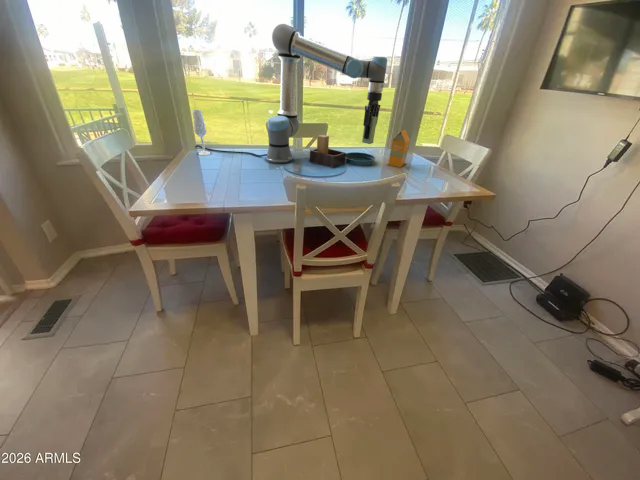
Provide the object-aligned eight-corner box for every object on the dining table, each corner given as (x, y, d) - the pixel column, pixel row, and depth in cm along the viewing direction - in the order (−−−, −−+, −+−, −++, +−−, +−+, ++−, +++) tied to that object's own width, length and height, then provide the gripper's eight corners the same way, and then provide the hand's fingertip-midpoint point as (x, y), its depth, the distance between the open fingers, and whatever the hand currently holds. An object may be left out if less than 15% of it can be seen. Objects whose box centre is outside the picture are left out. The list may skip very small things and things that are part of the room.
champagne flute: (208, 155, 163) (200, 111, 150) (196, 154, 163) (188, 110, 150) (212, 152, 168) (205, 109, 155) (201, 151, 168) (193, 109, 155)
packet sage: (361, 142, 157) (365, 116, 150) (365, 141, 160) (369, 115, 152) (369, 144, 155) (373, 117, 147) (373, 143, 158) (377, 116, 150)
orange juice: (404, 164, 167) (412, 130, 156) (400, 167, 161) (407, 132, 150) (392, 161, 170) (399, 128, 160) (387, 165, 164) (394, 130, 153)
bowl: (337, 162, 164) (337, 156, 162) (353, 156, 177) (354, 150, 175) (364, 169, 155) (365, 163, 153) (379, 162, 168) (380, 156, 166)
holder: (309, 161, 163) (310, 150, 159) (321, 157, 171) (322, 146, 167) (333, 168, 154) (334, 156, 150) (344, 163, 162) (345, 152, 158)
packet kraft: (316, 159, 164) (317, 135, 156) (321, 158, 167) (322, 134, 159) (323, 161, 161) (324, 137, 154) (327, 160, 164) (329, 136, 157)
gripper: (373, 93, 136) (366, 141, 148) (388, 92, 147) (380, 137, 160) (360, 91, 139) (354, 138, 152) (376, 90, 151) (369, 134, 164)
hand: (368, 137), depth 156 cm, fingers closed on packet sage, 4 cm apart
